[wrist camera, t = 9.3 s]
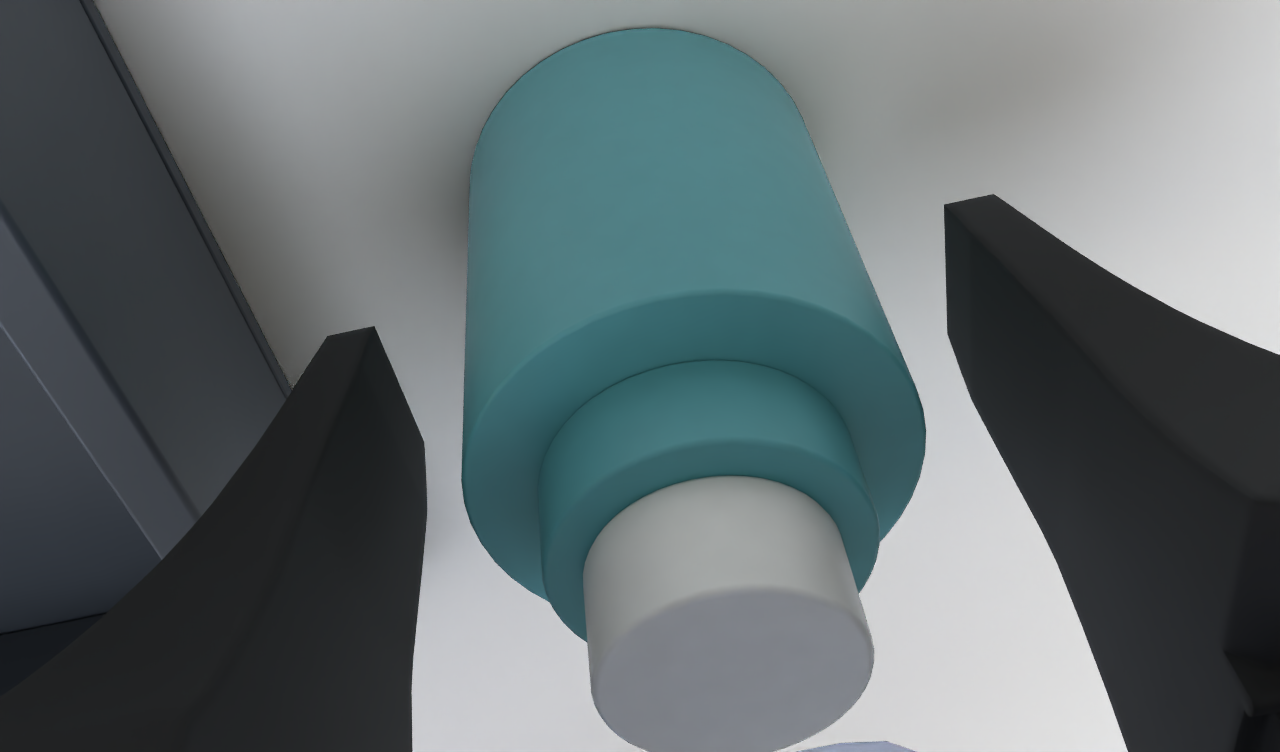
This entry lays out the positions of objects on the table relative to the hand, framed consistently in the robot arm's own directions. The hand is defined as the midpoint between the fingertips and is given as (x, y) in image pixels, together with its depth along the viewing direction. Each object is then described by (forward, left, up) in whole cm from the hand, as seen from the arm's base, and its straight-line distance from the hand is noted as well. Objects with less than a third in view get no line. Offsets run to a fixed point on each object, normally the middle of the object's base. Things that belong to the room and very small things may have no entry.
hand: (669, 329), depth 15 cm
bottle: (0, 0, -3) cm, 3 cm away
